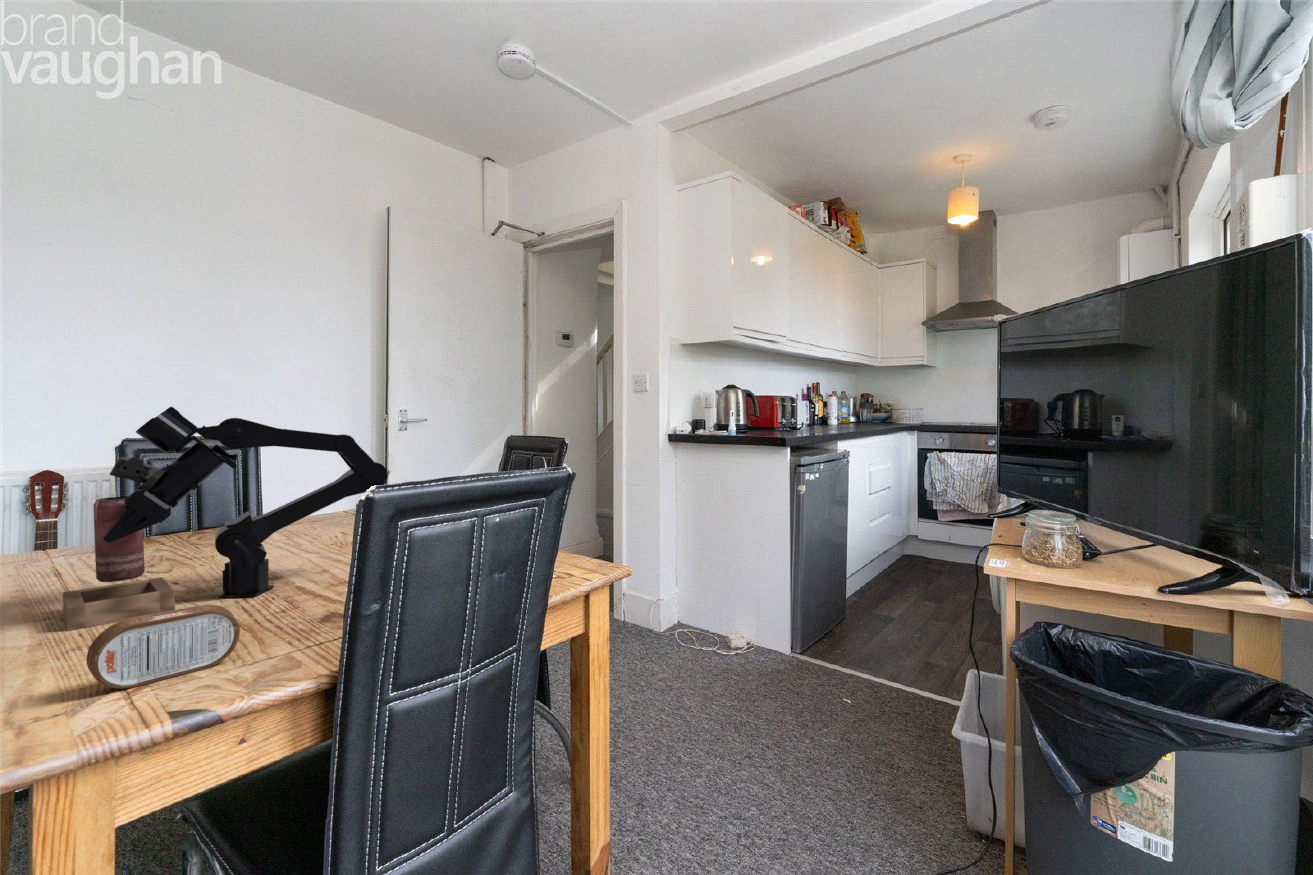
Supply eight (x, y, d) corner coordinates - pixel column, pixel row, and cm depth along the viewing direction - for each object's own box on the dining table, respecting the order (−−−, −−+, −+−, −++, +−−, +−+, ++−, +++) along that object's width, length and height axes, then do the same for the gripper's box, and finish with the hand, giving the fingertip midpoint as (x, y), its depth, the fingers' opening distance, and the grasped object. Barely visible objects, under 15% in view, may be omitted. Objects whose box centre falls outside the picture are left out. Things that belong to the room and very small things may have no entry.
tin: (236, 655, 80) (235, 596, 80) (242, 661, 78) (242, 601, 78) (86, 693, 69) (85, 625, 69) (89, 701, 67) (88, 631, 67)
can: (84, 582, 95) (81, 500, 95) (124, 572, 102) (121, 495, 101) (115, 583, 95) (112, 500, 94) (153, 573, 101) (151, 495, 100)
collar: (162, 595, 107) (162, 577, 107) (174, 610, 99) (174, 591, 99) (63, 612, 98) (62, 592, 98) (67, 630, 89) (67, 608, 89)
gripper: (150, 439, 107) (69, 502, 101) (141, 441, 93) (46, 516, 86) (205, 477, 112) (131, 540, 106) (204, 486, 98) (119, 559, 91)
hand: (108, 538), depth 97 cm, fingers closed on can, 5 cm apart
